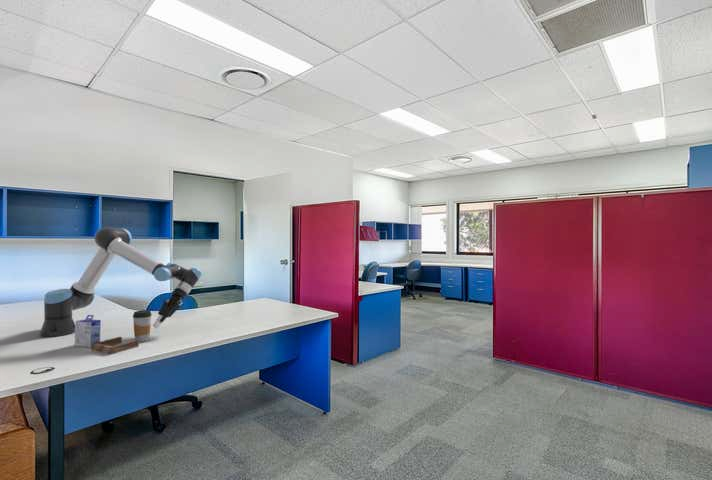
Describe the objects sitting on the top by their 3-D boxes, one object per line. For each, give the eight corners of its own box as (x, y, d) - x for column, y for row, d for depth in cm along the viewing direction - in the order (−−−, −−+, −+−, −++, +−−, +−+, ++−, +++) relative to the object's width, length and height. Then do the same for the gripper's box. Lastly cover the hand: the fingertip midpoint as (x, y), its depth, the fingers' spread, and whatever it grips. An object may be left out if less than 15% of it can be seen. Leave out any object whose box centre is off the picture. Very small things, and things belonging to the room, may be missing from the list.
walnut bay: (91, 350, 167) (91, 343, 167) (119, 342, 179) (119, 336, 179) (111, 354, 162) (111, 347, 162) (138, 346, 174) (138, 340, 174)
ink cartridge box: (101, 344, 176) (101, 315, 176) (90, 347, 171) (91, 317, 171) (84, 342, 178) (84, 313, 178) (74, 346, 173) (74, 316, 173)
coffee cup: (155, 339, 185) (155, 310, 185) (140, 343, 178) (141, 314, 177) (143, 337, 188) (143, 309, 188) (128, 342, 180) (128, 312, 180)
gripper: (193, 296, 204) (168, 332, 189) (177, 294, 209) (151, 329, 194) (186, 288, 199) (159, 324, 184) (169, 286, 205) (142, 321, 189)
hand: (155, 326), depth 189 cm, fingers closed
